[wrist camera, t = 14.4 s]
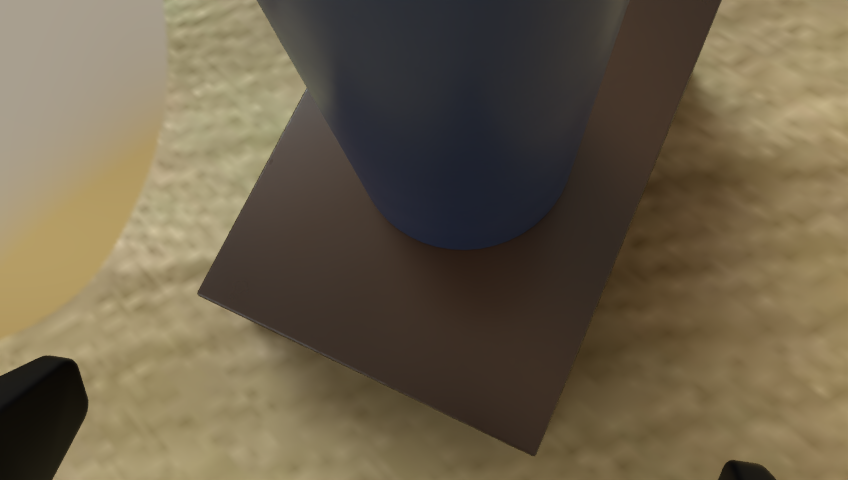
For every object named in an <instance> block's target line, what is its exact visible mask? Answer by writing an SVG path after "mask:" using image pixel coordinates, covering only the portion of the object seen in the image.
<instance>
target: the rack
mask: <svg viewBox="0 0 848 480" xmlns="http://www.w3.org/2000/svg"><path fill="white" fill-rule="evenodd" d="M721 1H722V0H629V3H628V6H627V9H626V12H625V15H624V18H623V21H622V23H621V26H620V29H619V32H618V35H617V38H616V41H615V44H614V47H613V50H612V53H611V55H610V58H609V61H608V64H607V67H606V70H605V73H604V76H603V79H602V82H601V85H600V88H599V90H598V93H597V96H596V99H595V102H594V105H593V108H592V111H591V114H590V117H589V120H588V123H587V125H586V128H585V131H584V134H583V137H582V140H581V143H580V146H579V149H578V152H577V155H576V158H575V160H574V163H573V166H572V169H571V172H570V175H569V178H568V181H567V183H566V185H565V187H564V190H563V192H562V194H561V195H560V197H559V198H558V200H557V202H556V203H555V205H554V206H553V207H552V208H551V210H550V211H549V212H548V213H547V214H546V215H545V217H543V218H542V219H541V220H540V221H539V222H538V223H537V224H536V225H534V226H533V227H532V228H530V229H529V230H527V231H526V232H524V233H523V234H521V235H519V236H517V237H515V238H513V239H511V240H509V241H507V242H504V243H501V244H498V245H495V246H491V247H486V248H482V249H472V250H453V249H446V248H440V247H435V246H432V245H429V244H426V243H422V242H420V241H418V240H416V239H414V238H412V237H410V236H408V235H406V234H405V233H403V232H402V231H400V230H399V229H397V228H396V227H395V226H394V225H393V224H391V223H390V222H389V221H388V220H387V219H386V218H385V217H384V216H383V215H382V214H381V213H380V211H379V210H378V209H377V207H376V206H375V204H374V203H373V202H372V200H371V199H370V197H369V195H368V193H367V192H366V190H365V188H364V186H363V185H362V183H361V181H360V179H359V178H358V176H357V174H356V172H355V171H354V169H353V167H352V165H351V164H350V162H349V160H348V158H347V157H346V155H345V153H344V151H343V150H342V148H341V146H340V144H339V143H338V141H337V139H336V137H335V136H334V134H333V132H332V130H331V129H330V127H329V125H328V124H327V122H326V120H325V118H324V117H323V115H322V113H321V111H320V110H319V108H318V106H317V104H316V103H315V101H314V99H313V97H312V96H311V94H310V92H309V90H308V89H306V90H305V92H304V94H303V96H302V98H301V100H300V102H299V104H298V105H297V107H296V109H295V111H294V113H293V115H292V117H291V118H290V120H289V122H288V124H287V126H286V128H285V130H284V132H283V133H282V135H281V137H280V139H279V141H278V143H277V145H276V146H275V148H274V150H273V152H272V154H271V156H270V158H269V160H268V161H267V163H266V165H265V167H264V169H263V171H262V173H261V175H260V176H259V178H258V180H257V182H256V184H255V186H254V188H253V189H252V191H251V193H250V195H249V197H248V199H247V201H246V203H245V204H244V206H243V208H242V210H241V212H240V214H239V216H238V218H237V219H236V221H235V223H234V225H233V227H232V229H231V231H230V232H229V234H228V236H227V238H226V240H225V242H224V244H223V246H222V247H221V249H220V251H219V253H218V255H217V257H216V259H215V261H214V262H213V264H212V266H211V268H210V270H209V272H208V274H207V275H206V277H205V279H204V281H203V283H202V285H201V287H200V289H199V290H198V292H197V294H198V295H199V296H200V297H202V298H205V299H207V300H209V301H211V302H213V303H215V304H217V305H219V306H221V307H223V308H225V309H227V310H229V311H232V312H234V313H236V314H238V315H240V316H242V317H244V318H246V319H248V320H250V321H252V322H254V323H257V324H259V325H261V326H263V327H265V328H267V329H269V330H271V331H273V332H275V333H277V334H279V335H281V336H284V337H286V338H288V339H290V340H292V341H294V342H296V343H298V344H300V345H302V346H304V347H306V348H308V349H311V350H313V351H315V352H317V353H319V354H321V355H323V356H325V357H327V358H329V359H331V360H333V361H336V362H338V363H340V364H342V365H344V366H346V367H348V368H350V369H352V370H354V371H356V372H358V373H360V374H363V375H365V376H367V377H369V378H371V379H373V380H375V381H377V382H379V383H381V384H383V385H385V386H388V387H390V388H392V389H394V390H396V391H398V392H400V393H402V394H404V395H406V396H408V397H410V398H412V399H415V400H417V401H419V402H421V403H423V404H425V405H427V406H429V407H431V408H433V409H435V410H437V411H439V412H442V413H444V414H446V415H448V416H450V417H452V418H454V419H456V420H458V421H460V422H462V423H464V424H467V425H469V426H471V427H473V428H475V429H477V430H479V431H481V432H483V433H485V434H487V435H489V436H491V437H494V438H496V439H498V440H500V441H502V442H504V443H506V444H508V445H510V446H512V447H514V448H516V449H518V450H521V451H523V452H525V453H527V454H529V455H531V456H535V455H536V454H537V451H538V449H539V447H540V444H541V442H542V439H543V437H544V434H545V432H546V429H547V427H548V424H549V422H550V420H551V417H552V415H553V412H554V410H555V407H556V405H557V402H558V400H559V398H560V395H561V393H562V390H563V388H564V385H565V383H566V380H567V378H568V375H569V373H570V371H571V368H572V366H573V363H574V361H575V358H576V356H577V353H578V351H579V349H580V346H581V344H582V341H583V339H584V336H585V334H586V331H587V329H588V326H589V324H590V322H591V319H592V317H593V314H594V312H595V309H596V307H597V304H598V302H599V300H600V297H601V295H602V292H603V290H604V287H605V285H606V282H607V280H608V278H609V275H610V273H611V270H612V268H613V265H614V263H615V260H616V258H617V255H618V253H619V251H620V248H621V246H622V243H623V241H624V238H625V236H626V233H627V231H628V229H629V226H630V224H631V221H632V219H633V216H634V214H635V211H636V209H637V206H638V204H639V202H640V199H641V197H642V194H643V192H644V189H645V187H646V184H647V182H648V180H649V177H650V175H651V172H652V170H653V167H654V165H655V162H656V160H657V157H658V155H659V153H660V150H661V148H662V145H663V143H664V140H665V138H666V135H667V133H668V131H669V128H670V126H671V123H672V121H673V118H674V116H675V113H676V111H677V108H678V106H679V104H680V101H681V99H682V96H683V94H684V91H685V89H686V86H687V84H688V82H689V79H690V77H691V74H692V72H693V69H694V67H695V64H696V62H697V60H698V57H699V55H700V52H701V50H702V47H703V45H704V42H705V40H706V37H707V35H708V33H709V30H710V28H711V25H712V23H713V20H714V18H715V15H716V13H717V11H718V8H719V6H720V3H721Z"/></svg>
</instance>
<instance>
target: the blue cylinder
mask: <svg viewBox="0 0 848 480" xmlns="http://www.w3.org/2000/svg"><path fill="white" fill-rule="evenodd" d="M257 1H258V3H259V5H260V7H261V8H262V10H263V12H264V14H265V15H266V17H267V19H268V21H269V22H270V24H271V26H272V28H273V29H274V31H275V33H276V35H277V36H278V38H279V40H280V42H281V43H282V45H283V47H284V49H285V50H286V52H287V54H288V56H289V57H290V59H291V61H292V62H293V64H294V66H295V68H296V69H297V71H298V73H299V75H300V76H301V78H302V80H303V82H304V83H305V85H306V87H307V89H308V90H309V92H310V94H311V96H312V97H313V99H314V101H315V103H316V104H317V106H318V108H319V110H320V111H321V113H322V115H323V117H324V118H325V120H326V122H327V124H328V125H329V127H330V129H331V130H332V132H333V134H334V136H335V137H336V139H337V141H338V143H339V144H340V146H341V148H342V150H343V151H344V153H345V155H346V157H347V158H348V160H349V162H350V164H351V165H352V167H353V169H354V171H355V172H356V174H357V176H358V178H359V179H360V181H361V183H362V185H363V186H364V188H365V190H366V192H367V193H368V195H369V197H370V199H371V200H372V202H373V203H374V204H375V206H376V207H377V209H378V210H379V211H380V213H381V214H382V215H383V216H384V217H385V218H386V219H387V220H388V221H389V222H390V223H391V224H393V225H394V226H395V227H396V228H397V229H399V230H400V231H402V232H403V233H405V234H406V235H408V236H410V237H412V238H414V239H416V240H418V241H420V242H422V243H426V244H429V245H432V246H435V247H440V248H446V249H453V250H472V249H482V248H486V247H491V246H495V245H498V244H501V243H504V242H507V241H509V240H511V239H513V238H515V237H517V236H519V235H521V234H523V233H524V232H526V231H527V230H529V229H530V228H532V227H533V226H534V225H536V224H537V223H538V222H539V221H540V220H541V219H542V218H543V217H545V215H546V214H547V213H548V212H549V211H550V210H551V208H552V207H553V206H554V205H555V203H556V202H557V200H558V198H559V197H560V195H561V194H562V192H563V190H564V187H565V185H566V183H567V181H568V178H569V175H570V172H571V169H572V166H573V163H574V160H575V158H576V155H577V152H578V149H579V146H580V143H581V140H582V137H583V134H584V131H585V128H586V125H587V123H588V120H589V117H590V114H591V111H592V108H593V105H594V102H595V99H596V96H597V93H598V90H599V88H600V85H601V82H602V79H603V76H604V73H605V70H606V67H607V64H608V61H609V58H610V55H611V53H612V50H613V47H614V44H615V41H616V38H617V35H618V32H619V29H620V26H621V23H622V21H623V18H624V15H625V12H626V9H627V6H628V3H629V0H257Z"/></svg>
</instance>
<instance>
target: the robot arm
mask: <svg viewBox="0 0 848 480" xmlns="http://www.w3.org/2000/svg"><path fill="white" fill-rule="evenodd" d="M87 410H88V397H87V394H86V391H85V387H84V384H83V381H82V378H81V375H80V371H79V368H78V366H77V364H76V363H75V362H74V361H73V360H72V359H69V358H63V357H56V356H42V357H40V358H37V359H35V360H33V361H31V362H29V363H27V364H25V365H23V366H21V367H19V368H16V369H14V370H12V371H10V372H8V373H6V374H4V375H2V376H0V480H52V479H53V477H54V475H55V474H56V472H57V470H58V468H59V466H60V464H61V462H62V460H63V458H64V457H65V455H66V453H67V451H68V449H69V447H70V445H71V443H72V441H73V440H74V438H75V436H76V434H77V432H78V430H79V428H80V426H81V424H82V422H83V421H84V419H85V416H86V414H87ZM718 480H776V479H775V478H774V476H773V475H772V474H771V473H770V472H769V471H768V470H767V469H766V468H765V467H763V466H762V465H760V464H756V463H749V462H743V461H736V460H730V461H728V462H727V463H726V464H725V465H724V467H723V469H722V471H721V474H720V476H719V479H718Z"/></svg>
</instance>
